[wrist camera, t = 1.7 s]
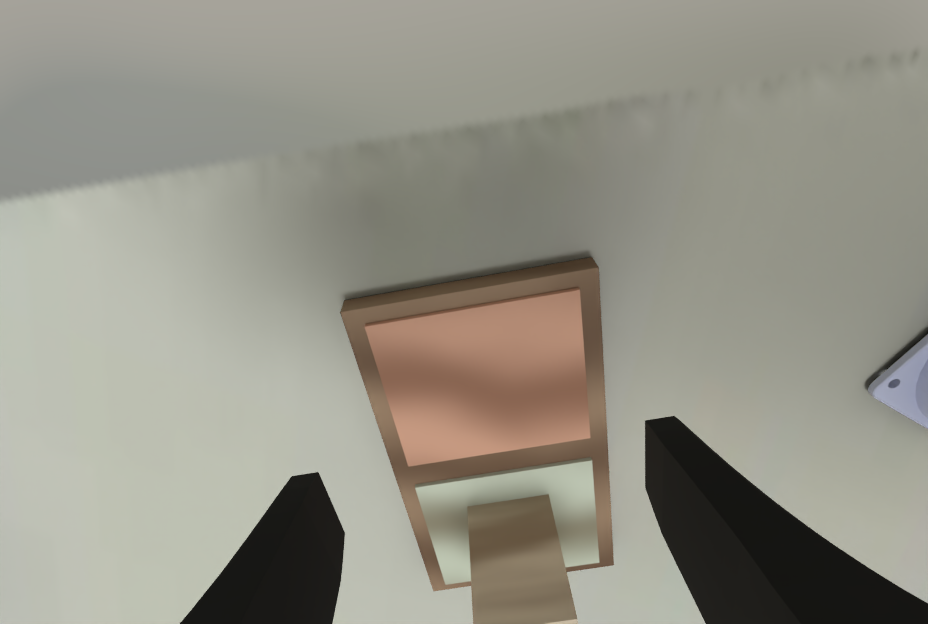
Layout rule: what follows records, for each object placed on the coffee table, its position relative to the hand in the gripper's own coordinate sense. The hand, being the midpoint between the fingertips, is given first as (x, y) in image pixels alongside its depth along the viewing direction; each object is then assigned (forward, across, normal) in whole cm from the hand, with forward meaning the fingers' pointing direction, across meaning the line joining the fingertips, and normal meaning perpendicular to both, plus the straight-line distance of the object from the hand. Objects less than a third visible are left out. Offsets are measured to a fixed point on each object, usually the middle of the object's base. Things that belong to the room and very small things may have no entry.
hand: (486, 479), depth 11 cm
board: (+10, 0, +9) cm, 14 cm away
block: (+9, 0, +14) cm, 16 cm away
